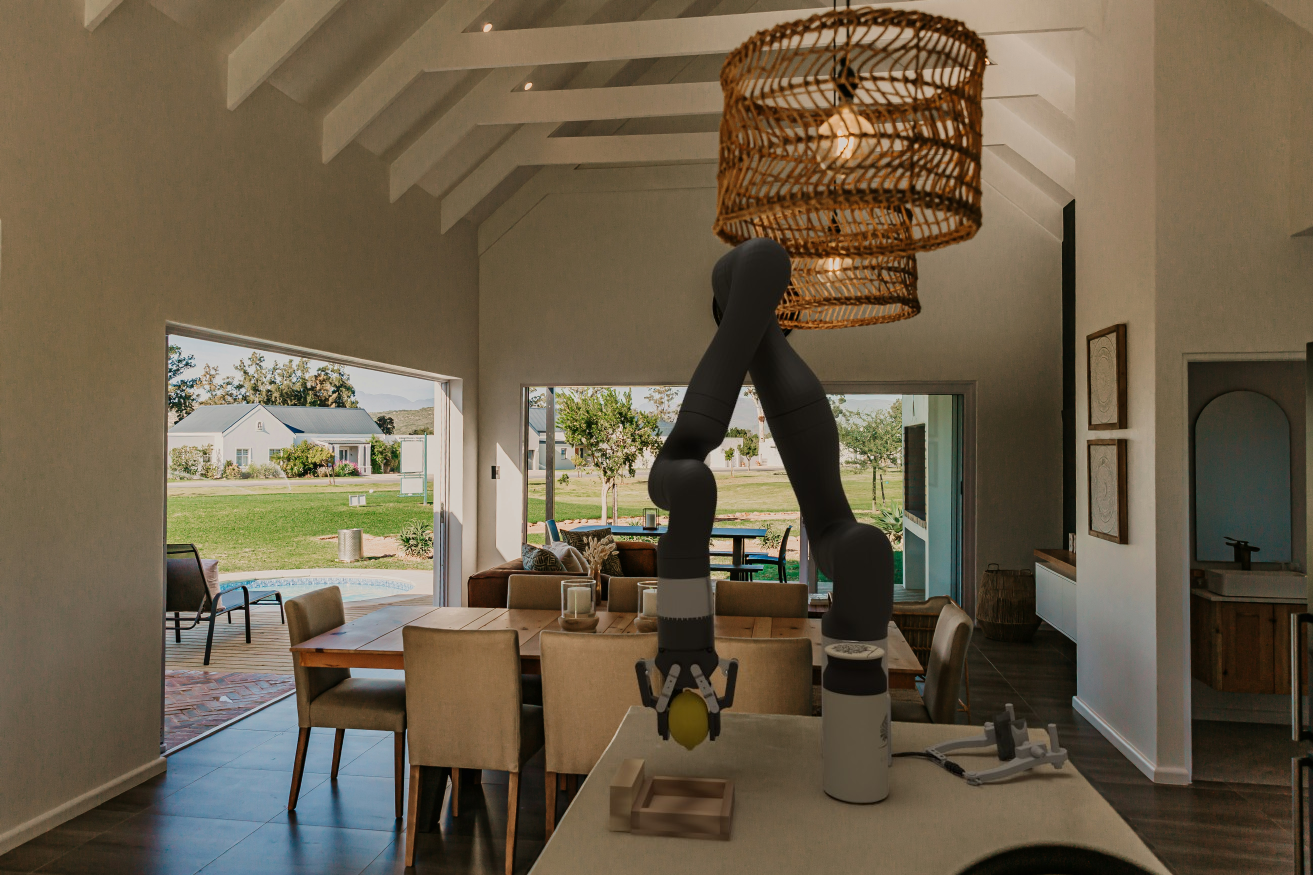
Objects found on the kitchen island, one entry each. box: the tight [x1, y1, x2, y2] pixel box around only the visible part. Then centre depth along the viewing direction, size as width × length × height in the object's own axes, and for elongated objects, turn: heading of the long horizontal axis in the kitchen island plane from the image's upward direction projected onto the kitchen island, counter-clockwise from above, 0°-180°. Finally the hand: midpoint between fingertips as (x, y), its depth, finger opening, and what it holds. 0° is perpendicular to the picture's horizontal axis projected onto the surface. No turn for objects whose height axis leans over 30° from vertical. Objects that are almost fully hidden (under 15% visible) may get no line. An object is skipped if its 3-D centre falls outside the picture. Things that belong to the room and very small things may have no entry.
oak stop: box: [609, 758, 646, 833], centre depth 99 cm, size 2×9×5 cm, turn 171°
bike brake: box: [891, 703, 1069, 786], centre depth 115 cm, size 14×7×20 cm
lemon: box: [668, 688, 710, 752], centre depth 110 cm, size 6×6×8 cm
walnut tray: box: [630, 774, 736, 842], centre depth 99 cm, size 11×11×3 cm
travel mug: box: [822, 643, 889, 804], centre depth 106 cm, size 8×8×18 cm
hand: (689, 738), depth 110 cm, fingers closed on lemon, 5 cm apart
